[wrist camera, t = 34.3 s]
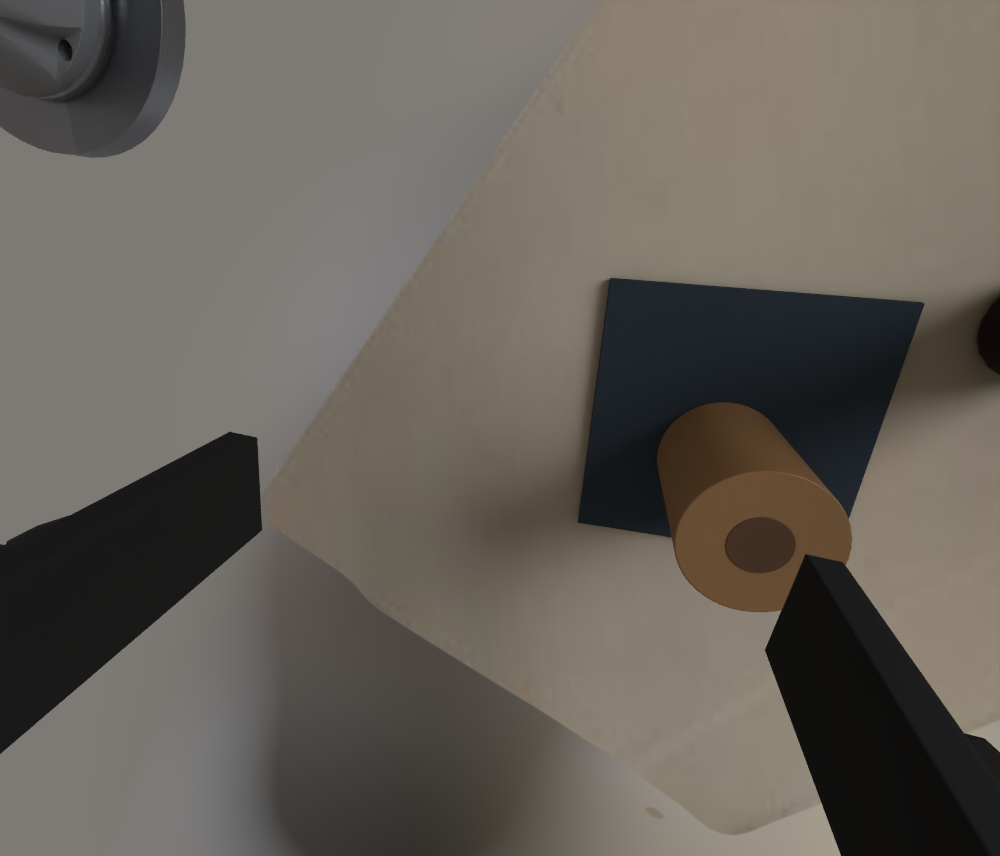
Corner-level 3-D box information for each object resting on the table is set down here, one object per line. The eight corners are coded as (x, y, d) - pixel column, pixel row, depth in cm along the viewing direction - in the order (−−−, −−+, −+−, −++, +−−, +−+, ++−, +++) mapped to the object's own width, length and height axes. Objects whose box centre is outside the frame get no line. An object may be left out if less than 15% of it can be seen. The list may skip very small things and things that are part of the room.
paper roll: (825, 626, 29) (876, 484, 26) (662, 598, 31) (690, 461, 27) (766, 518, 40) (797, 409, 37) (648, 501, 42) (667, 395, 39)
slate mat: (578, 519, 44) (578, 522, 44) (610, 277, 37) (610, 278, 37) (831, 558, 41) (833, 562, 41) (920, 302, 34) (925, 303, 33)
